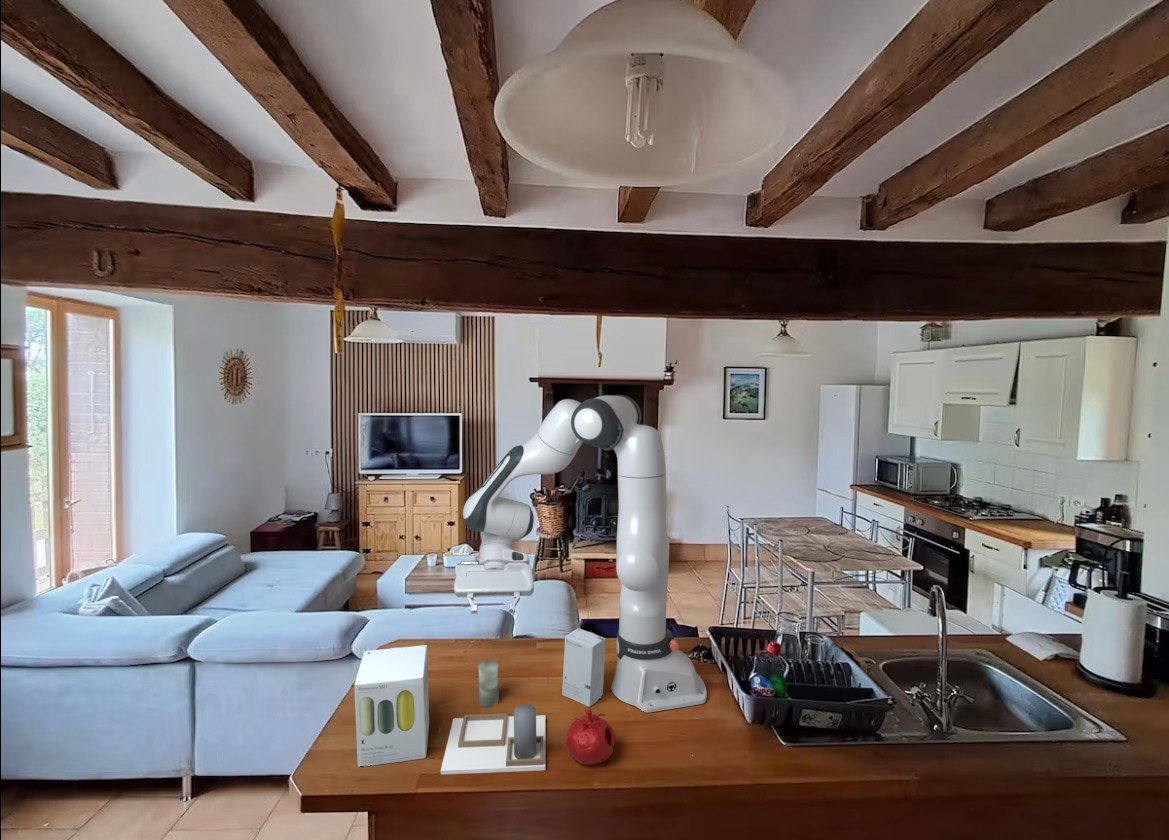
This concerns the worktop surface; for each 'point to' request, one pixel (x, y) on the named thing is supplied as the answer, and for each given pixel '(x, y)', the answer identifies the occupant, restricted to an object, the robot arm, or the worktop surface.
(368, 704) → the supplement box
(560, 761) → the worktop surface
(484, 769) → the board
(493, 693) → the sage pin
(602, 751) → the pomegranate
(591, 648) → the skincare box
